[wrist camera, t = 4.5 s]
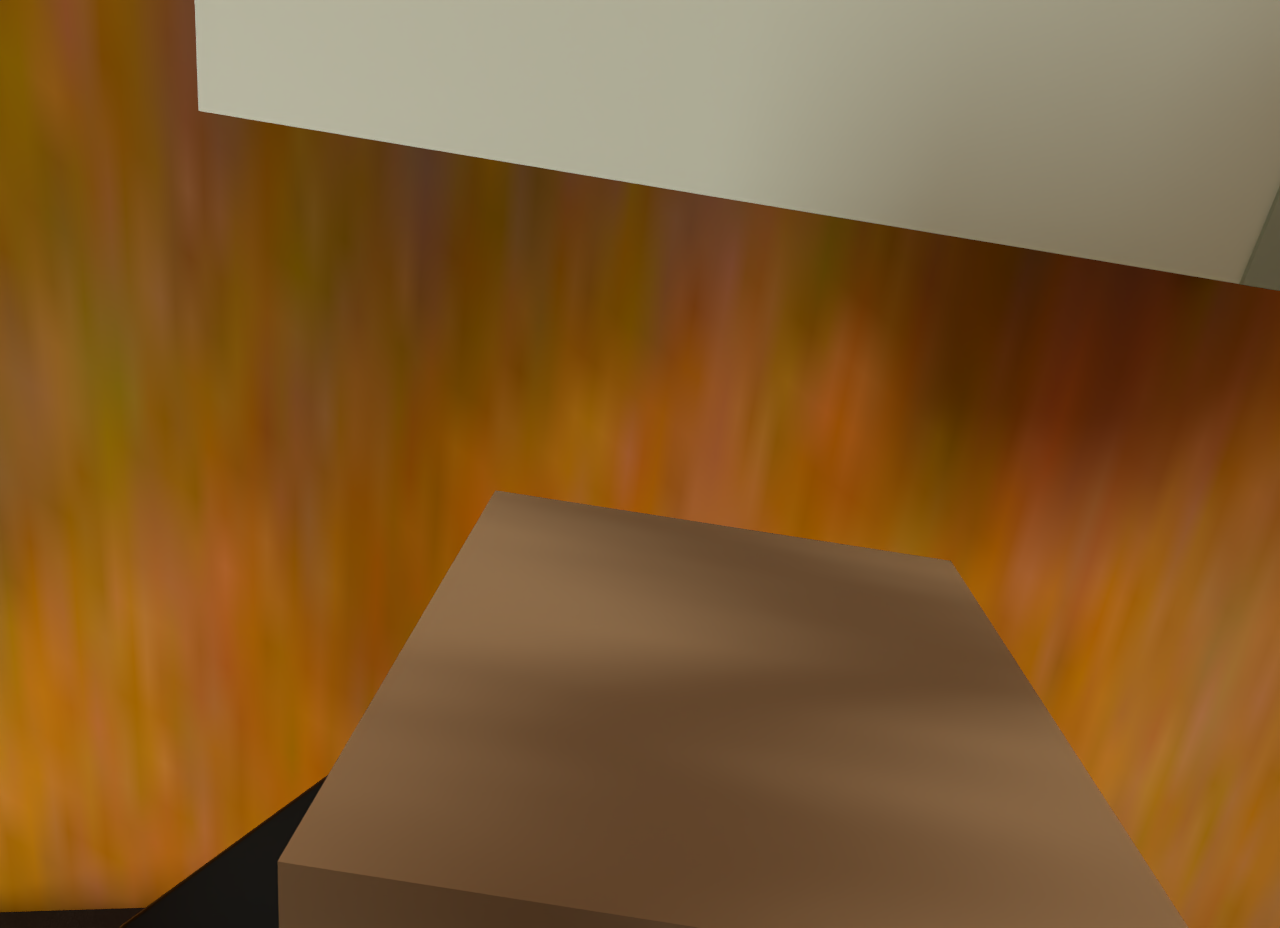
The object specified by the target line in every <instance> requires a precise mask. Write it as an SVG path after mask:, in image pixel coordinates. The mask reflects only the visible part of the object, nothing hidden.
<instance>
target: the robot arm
mask: <svg viewBox="0 0 1280 928" xmlns="http://www.w3.org/2000/svg"><path fill="white" fill-rule="evenodd" d="M328 775H329V774H328ZM328 775H327V776H328ZM327 776H326V777H324V778H323V779H322V780H320V781H319V782H317V783H316V784H315V785H313V786H312V787H311V788H309V789H308V790H307V791H305V792H304V793H302V794H301V795H300V796H298V797H297V798H296V799H294V800H293V801H291V802H290V803H289V804H287V805H286V806H285V807H283V808H282V809H280V810H279V811H278V812H276V813H275V814H274V815H272V816H271V817H269V818H268V819H267V820H265V821H264V822H263V823H261V824H260V825H258V826H257V827H256V828H254V829H253V830H252V831H250V832H249V833H247V834H246V835H245V836H243V837H242V838H241V839H239V840H238V841H236V842H235V843H234V844H232V845H231V846H230V847H228V848H227V849H225V850H224V851H223V852H221V853H220V854H219V855H217V856H216V857H214V858H213V859H212V860H210V861H209V862H208V863H206V864H205V865H204V866H202V867H201V868H199V869H198V870H197V871H195V872H194V873H193V874H191V875H190V876H188V877H187V878H186V879H184V880H183V881H182V882H180V883H179V884H177V885H176V886H175V887H173V888H172V889H171V890H169V891H168V892H166V893H165V894H164V895H162V896H161V897H160V898H158V899H157V900H155V901H154V902H153V903H151V904H150V905H149V906H147V907H146V908H144V909H143V910H142V911H140V912H139V913H138V914H136V915H135V916H133V917H132V918H131V919H129V920H128V921H127V922H125V923H124V924H123V925H121V926H120V928H279V906H278V860H279V858H280V856H281V855H282V853H283V851H284V850H285V848H286V846H287V845H288V843H289V841H290V839H291V838H292V836H293V834H294V833H295V831H296V829H297V828H298V826H299V824H300V822H301V821H302V819H303V817H304V816H305V814H306V812H307V810H308V809H309V807H310V805H311V804H312V802H313V800H314V799H315V797H316V795H317V793H318V792H319V790H320V788H321V787H322V785H323V783H324V782H325V780H326V778H327Z"/></svg>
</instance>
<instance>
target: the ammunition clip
mask: <svg viewBox="0 0 1280 928" xmlns="http://www.w3.org/2000/svg"><path fill="white" fill-rule="evenodd" d="M143 909H144V908H127V909H95V910H63V911H31V912H0V928H120V926H121V925H123V924H124V923H125V922H127V921H128V920H129V919H131V918H132V917H133V916H135V915H136V914H138V913H139V912H140V911H142V910H143Z"/></svg>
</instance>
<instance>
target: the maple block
mask: <svg viewBox="0 0 1280 928" xmlns="http://www.w3.org/2000/svg"><path fill="white" fill-rule="evenodd" d="M278 906H279V928H1188V927H1187V925H1186V923H1185V922H1184V920H1183V919H1182V917H1181V916H1180V914H1179V913H1178V911H1177V910H1176V908H1175V906H1174V905H1173V903H1172V902H1171V900H1170V899H1169V897H1168V896H1167V894H1166V893H1165V891H1164V889H1163V888H1162V886H1161V885H1160V883H1159V882H1158V880H1157V879H1156V877H1155V876H1154V874H1153V873H1152V871H1151V869H1150V868H1149V866H1148V865H1147V863H1146V862H1145V860H1144V859H1143V857H1142V856H1141V854H1140V852H1139V851H1138V849H1137V848H1136V846H1135V845H1134V843H1133V842H1132V840H1131V839H1130V837H1129V835H1128V834H1127V832H1126V831H1125V829H1124V828H1123V826H1122V825H1121V823H1120V822H1119V820H1118V818H1117V817H1116V815H1115V814H1114V812H1113V811H1112V809H1111V808H1110V806H1109V805H1108V803H1107V802H1106V800H1105V798H1104V797H1103V795H1102V794H1101V792H1100V791H1099V789H1098V788H1097V786H1096V785H1095V783H1094V781H1093V780H1092V778H1091V777H1090V775H1089V774H1088V772H1087V771H1086V769H1085V768H1084V766H1083V764H1082V763H1081V761H1080V760H1079V758H1078V757H1077V755H1076V754H1075V752H1074V751H1073V749H1072V747H1071V746H1070V744H1069V743H1068V741H1067V740H1066V738H1065V737H1064V735H1063V734H1062V732H1061V731H1060V729H1059V727H1058V726H1057V724H1056V723H1055V721H1054V720H1053V718H1052V717H1051V715H1050V714H1049V712H1048V710H1047V709H1046V707H1045V706H1044V704H1043V703H1042V701H1041V700H1040V698H1039V697H1038V695H1037V693H1036V692H1035V690H1034V689H1033V687H1032V686H1031V684H1030V683H1029V681H1028V680H1027V678H1026V676H1025V675H1024V673H1023V672H1022V670H1021V669H1020V667H1019V666H1018V664H1017V663H1016V661H1015V659H1014V658H1013V656H1012V655H1011V653H1010V652H1009V650H1008V649H1007V647H1006V646H1005V644H1004V643H1003V641H1002V639H1001V638H1000V636H999V635H998V633H997V632H996V630H995V629H994V627H993V626H992V624H991V622H990V621H989V619H988V618H987V616H986V615H985V613H984V612H983V610H982V609H981V607H980V605H979V604H978V602H977V601H976V599H975V598H974V596H973V595H972V593H971V592H970V590H969V588H968V587H967V585H966V584H965V582H964V581H963V579H962V578H961V576H960V575H959V573H958V572H957V570H956V568H955V567H954V565H953V564H952V562H951V561H947V560H941V559H934V558H928V557H921V556H915V555H908V554H902V553H896V552H889V551H883V550H876V549H870V548H863V547H857V546H850V545H844V544H837V543H831V542H824V541H818V540H811V539H805V538H799V537H792V536H786V535H779V534H773V533H766V532H760V531H753V530H747V529H740V528H734V527H727V526H721V525H715V524H708V523H702V522H695V521H689V520H682V519H676V518H669V517H663V516H656V515H650V514H643V513H637V512H630V511H624V510H618V509H611V508H605V507H598V506H592V505H585V504H579V503H572V502H566V501H559V500H553V499H546V498H540V497H534V496H527V495H521V494H514V493H508V492H501V491H495V492H494V494H493V496H492V497H491V499H490V501H489V503H488V504H487V506H486V508H485V509H484V511H483V513H482V514H481V516H480V518H479V520H478V521H477V523H476V525H475V526H474V528H473V530H472V531H471V533H470V535H469V537H468V538H467V540H466V542H465V543H464V545H463V547H462V548H461V550H460V552H459V554H458V555H457V557H456V559H455V560H454V562H453V564H452V565H451V567H450V569H449V571H448V572H447V574H446V576H445V577H444V579H443V581H442V583H441V584H440V586H439V588H438V589H437V591H436V593H435V594H434V596H433V598H432V600H431V601H430V603H429V605H428V606H427V608H426V610H425V611H424V613H423V615H422V617H421V618H420V620H419V622H418V623H417V625H416V627H415V628H414V630H413V632H412V634H411V635H410V637H409V639H408V640H407V642H406V644H405V645H404V647H403V649H402V651H401V652H400V654H399V656H398V657H397V659H396V661H395V662H394V664H393V666H392V668H391V669H390V671H389V673H388V674H387V676H386V678H385V679H384V681H383V683H382V685H381V686H380V688H379V690H378V691H377V693H376V695H375V697H374V698H373V700H372V702H371V703H370V705H369V707H368V708H367V710H366V712H365V714H364V715H363V717H362V719H361V720H360V722H359V724H358V725H357V727H356V729H355V731H354V732H353V734H352V736H351V737H350V739H349V741H348V742H347V744H346V746H345V748H344V749H343V751H342V753H341V754H340V756H339V758H338V759H337V761H336V763H335V765H334V766H333V768H332V770H331V771H330V773H329V775H328V776H327V778H326V780H325V782H324V783H323V785H322V787H321V788H320V790H319V792H318V793H317V795H316V797H315V799H314V800H313V802H312V804H311V805H310V807H309V809H308V810H307V812H306V814H305V816H304V817H303V819H302V821H301V822H300V824H299V826H298V828H297V829H296V831H295V833H294V834H293V836H292V838H291V839H290V841H289V843H288V845H287V846H286V848H285V850H284V851H283V853H282V855H281V856H280V858H279V860H278Z"/></svg>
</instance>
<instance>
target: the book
mask: <svg viewBox="0 0 1280 928" xmlns="http://www.w3.org/2000/svg"><path fill="white" fill-rule="evenodd" d="M195 22H196V50H197V78H198V106H199V111H203V112H209V113H215V114H221V115H227V116H233V117H239V118H245V119H251V120H257V121H263V122H269V123H275V124H281V125H287V126H293V127H299V128H305V129H311V130H317V131H323V132H329V133H335V134H341V135H347V136H353V137H359V138H365V139H371V140H377V141H383V142H389V143H395V144H401V145H407V146H413V147H419V148H425V149H431V150H437V151H444V152H450V153H456V154H462V155H468V156H474V157H480V158H486V159H492V160H498V161H504V162H510V163H516V164H522V165H528V166H534V167H540V168H546V169H552V170H558V171H564V172H570V173H576V174H582V175H588V176H594V177H600V178H606V179H612V180H618V181H624V182H630V183H636V184H642V185H648V186H654V187H660V188H666V189H672V190H678V191H684V192H690V193H696V194H702V195H708V196H714V197H720V198H726V199H732V200H738V201H744V202H750V203H756V204H762V205H768V206H774V207H780V208H786V209H792V210H798V211H804V212H810V213H816V214H822V215H828V216H834V217H840V218H846V219H852V220H858V221H864V222H870V223H876V224H882V225H888V226H894V227H900V228H906V229H912V230H918V231H924V232H930V233H936V234H942V235H948V236H954V237H960V238H966V239H972V240H978V241H984V242H990V243H996V244H1002V245H1008V246H1014V247H1020V248H1026V249H1032V250H1038V251H1044V252H1050V253H1056V254H1062V255H1068V256H1074V257H1080V258H1086V259H1092V260H1098V261H1104V262H1110V263H1116V264H1122V265H1128V266H1134V267H1140V268H1146V269H1152V270H1158V271H1164V272H1170V273H1176V274H1182V275H1188V276H1194V277H1200V278H1206V279H1212V280H1218V281H1224V282H1230V283H1236V284H1242V285H1247V286H1253V287H1259V288H1265V289H1271V290H1277V291H1280V0H195Z"/></svg>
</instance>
